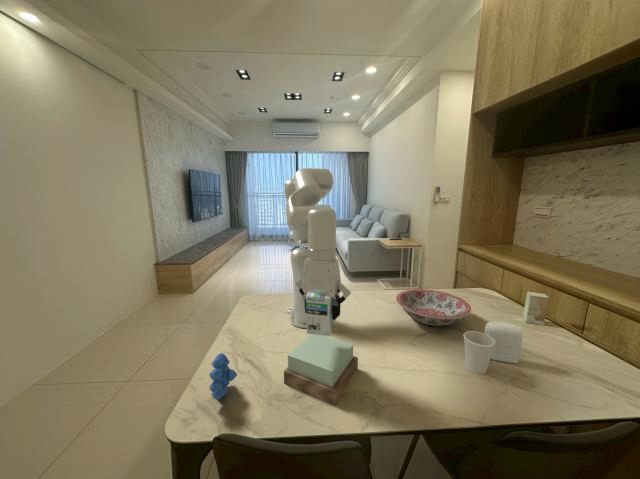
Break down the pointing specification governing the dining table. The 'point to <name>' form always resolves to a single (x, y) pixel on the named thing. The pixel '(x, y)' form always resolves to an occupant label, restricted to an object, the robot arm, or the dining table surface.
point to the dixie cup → (477, 351)
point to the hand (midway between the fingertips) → (322, 314)
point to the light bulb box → (319, 314)
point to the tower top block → (321, 358)
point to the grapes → (221, 376)
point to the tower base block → (319, 388)
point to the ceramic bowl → (433, 306)
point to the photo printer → (505, 341)
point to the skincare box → (535, 308)
